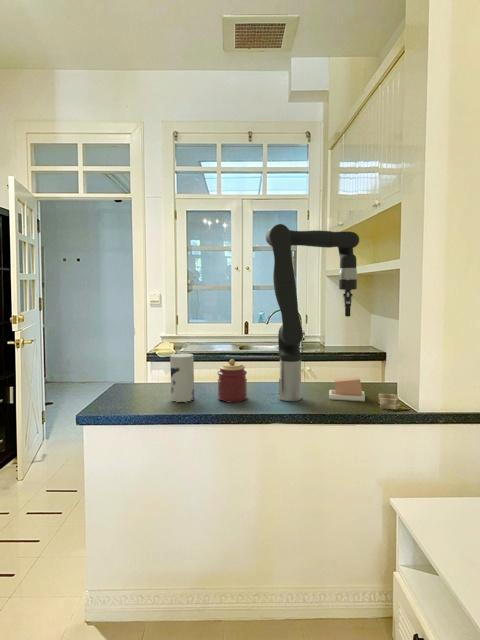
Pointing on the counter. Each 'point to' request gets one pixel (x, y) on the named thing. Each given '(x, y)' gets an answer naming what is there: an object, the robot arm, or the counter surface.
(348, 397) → the tray
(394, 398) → the dock
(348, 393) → the block
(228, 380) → the canister
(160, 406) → the counter surface
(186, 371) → the container
